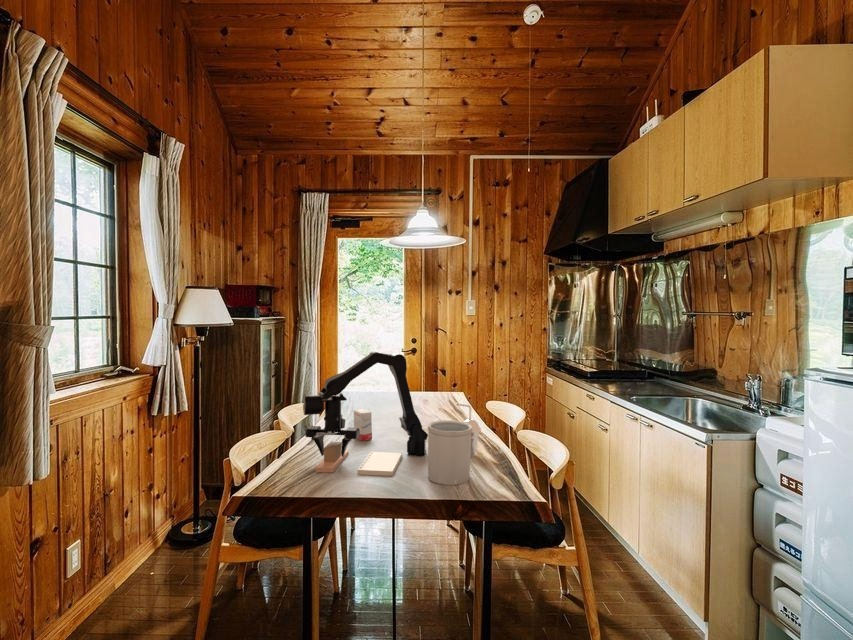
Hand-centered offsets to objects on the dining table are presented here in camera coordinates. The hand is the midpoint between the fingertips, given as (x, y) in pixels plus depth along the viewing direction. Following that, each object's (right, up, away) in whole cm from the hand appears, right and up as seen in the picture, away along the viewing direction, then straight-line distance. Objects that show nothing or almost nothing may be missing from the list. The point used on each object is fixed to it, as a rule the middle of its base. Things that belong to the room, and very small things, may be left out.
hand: (332, 456), depth 169 cm
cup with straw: (+50, -3, +11) cm, 51 cm away
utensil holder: (+42, -4, -14) cm, 44 cm away
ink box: (+6, -2, +33) cm, 33 cm away
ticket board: (+18, -3, -2) cm, 18 cm away
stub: (0, -2, 0) cm, 2 cm away
